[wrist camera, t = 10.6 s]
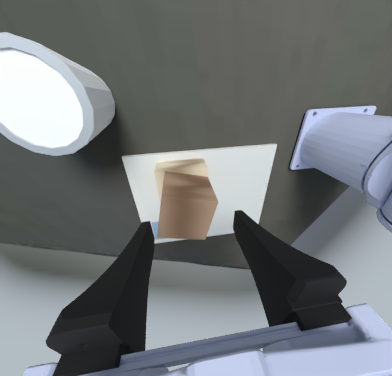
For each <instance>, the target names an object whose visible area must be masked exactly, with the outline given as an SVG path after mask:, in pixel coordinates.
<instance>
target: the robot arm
mask: <svg viewBox="0 0 392 376" xmlns="http://www.w3.org/2000/svg"><path fill="white" fill-rule="evenodd" d="M375 110H376V106H359V107H342V108H325V109H310V110H308V111H307V112H306V114H305V117H304V120H303V123H302V127H301V130H300V133H299V137H298V140H297V143H296V147H295V150H294V153H293V157H292V160H291V163H290V169H292V170H297V169H307V168H316V169H318V170H320V171H322V172H324V173H326V174H328V175H330V176H331V177H333V178H335V179H337V180H339V181H341V182H343V183H345V184H347V185H349V186H351V187H353V188H355V189H357V190H359V191H361V192H363V193H365V194H366V195H367V200H366V202H367V203H369V204H371V205H373V206H375V207H376V208H378V209H377V218H378V220H379V221H380V223H381V224H382V225H383V226H384V227H385V228H387V229H388V230H389V231H390V232H392V117H389V116H379V115H373V114H374V112H375ZM313 113H314V115H313ZM233 230H234V233H235V236H236V239H237V241H238V243H239V245H240V247H241V249H242V251H243V254H244V256H245V258H246V260H247V262H248V264H249V266H250V269H251V272H252V274H253V277H254V280H255V282H256V286H257V288H258V291H259V294H260V298H261V301H262V304H263V307H264V310H265V314H266V317H267V320H268V324H269V327H267V328H261V329H256V330H251V331H246V332H241V333H235V334H230V335H225V336H220V337H214V338H210V339H204V340H199V341H194V342H188V343H183V344H178V345H173V346H168V347H162V348H157V349H152V350H147V351H145V339H146V315H147V314H146V313H147V298H148V297H147V296H148V285H149V277H150V271H151V265H152V260H153V254H154V242H155V237H154V234H153V230H152V226H151V223H150V221H147V222H142V223H141V225H140V226H139V228H138V230H137V231H136V233H135V234H134V236H133V237H132V239H131V240H130V242H129V243H128V245H127V246H126V247H125V249H124V250H123V251H122V253H121V254H120V255H119V257H118V258H117V259H116V260H115V261H114V263H113V264H112V265H111V266H110V267H109V268H108V269H107V270H106V271H105V272H104V273H103V274H102V275H101V276H100V278H98V280H96V281H95V282H94V283H93V284H92V285H91V286H90V287H89V288H88V289H87V290H86V291H85V292H83V293H82V294H81V295H80V296H79V297H77V298H76V299H75V300H74V301H72V302H71V303H70V304H69V305H68V306H66V307H65V308H64V309H63V310H62V311H61V313H60V315H59V317H58V318H57V320H56V322H55V324H54V326H53V328H52V330H51V332H50V334H49V336H48V338H47V340H46V344H47V346H48V347H49V348H51V349H53V350H54V351H56V352H58V353H60V354H61V358H60V360H59V362H58V363H47V364H41V365H36V366H31V367H28V368H27V369H26V370H25V372H24V374H23V375H22V376H391V375H392V330H391V329H390V327H389V326H388V325H387V324H386V323H385V322H384V321H383V320H382V319H381V318H380V317H379V316H378V315H377V314H376V312H375V311H374V310H373V309H372V308H371V307H370V306H369V305H368V304H366V303H365V304H359V305H354V306H350V307H347V308H344V307H343V306H342V304H341V303H342V300H341V299H340V297H339V296H338V294H339V293H340V292H341V291H342V290H343V288H344V287H345V286H346V282H347V281H346V279H345V278H344V277H343V276H342V275H341V274H340V273H339V272H338V270H337V269H336V268H335V267H334V266H332V265H330V264H328V263H325V262H323V261H320V260H318V259H316V258H313V257H311V256H309V255H307V254H305V253H303V252H301V251H299V250H297V249H295V248H293V247H291V246H290V245H288V244H286V243H284V242H283V241H281V240H280V239H278V238H276V237H275V236H273V235H272V234H271V233H269V232H268V231H266V230H265V229H264V228H262V227H261V226H260V225H259V224H257V223H256V222H255V221H254V220H253V219H251V218H250V217H249V216H248V215H247V214H246V213H245V212H243V211H242V210H237V211H235V213H234V222H233ZM260 348H263V351H261V350H258V349H260ZM191 362H192V363H191ZM186 363H190V364H189V365H188V366H186V367H182V368H179V369H176V370H172V371H169V372H168V369H167V367H171V366H176V365H181V364H186Z"/></svg>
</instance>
